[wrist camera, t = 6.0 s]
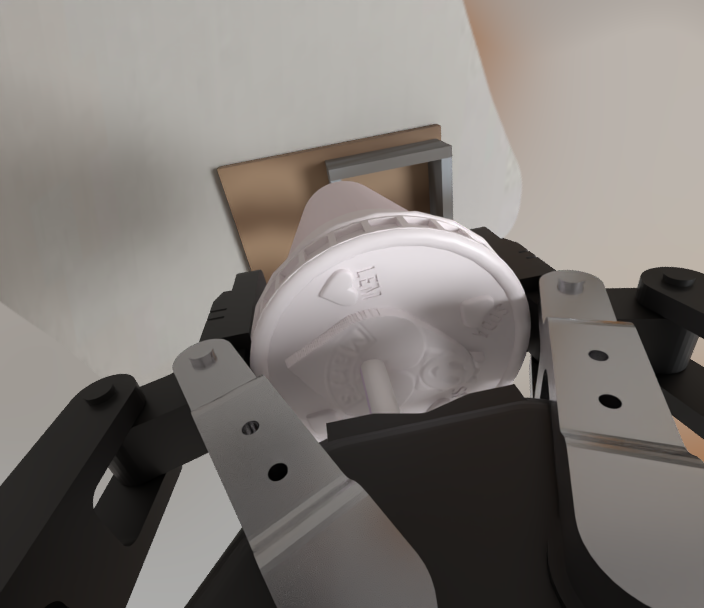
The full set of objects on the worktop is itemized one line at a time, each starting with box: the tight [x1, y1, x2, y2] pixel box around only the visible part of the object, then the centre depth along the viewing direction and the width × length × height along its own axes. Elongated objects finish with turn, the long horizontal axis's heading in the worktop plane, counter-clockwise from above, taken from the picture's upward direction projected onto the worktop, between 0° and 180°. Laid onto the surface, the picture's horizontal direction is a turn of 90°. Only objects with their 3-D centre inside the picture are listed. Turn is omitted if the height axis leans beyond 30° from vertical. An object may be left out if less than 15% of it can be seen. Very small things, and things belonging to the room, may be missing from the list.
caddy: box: [217, 124, 453, 284], centre depth 32 cm, size 11×18×4 cm, turn 99°
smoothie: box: [250, 181, 531, 443], centre depth 11 cm, size 6×6×14 cm
